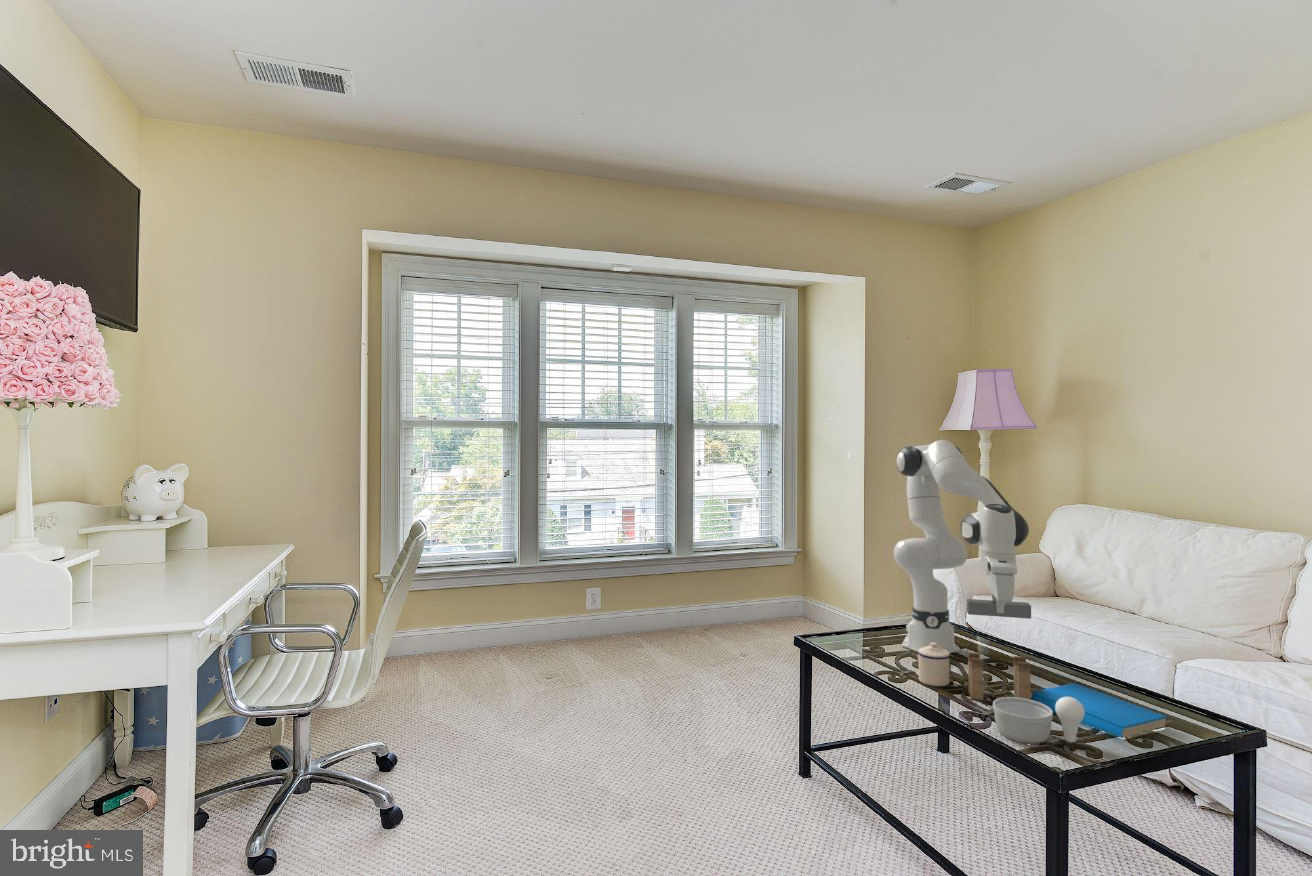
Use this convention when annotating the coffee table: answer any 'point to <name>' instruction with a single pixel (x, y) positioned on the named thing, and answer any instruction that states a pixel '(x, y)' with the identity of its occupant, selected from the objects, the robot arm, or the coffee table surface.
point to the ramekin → (1022, 719)
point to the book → (1103, 710)
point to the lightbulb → (1069, 716)
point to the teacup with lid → (933, 665)
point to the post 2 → (1022, 678)
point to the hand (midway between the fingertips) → (998, 610)
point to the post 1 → (975, 676)
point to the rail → (990, 608)
